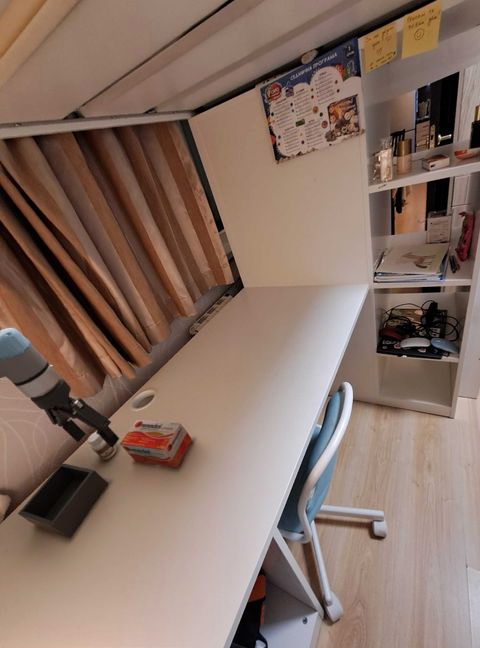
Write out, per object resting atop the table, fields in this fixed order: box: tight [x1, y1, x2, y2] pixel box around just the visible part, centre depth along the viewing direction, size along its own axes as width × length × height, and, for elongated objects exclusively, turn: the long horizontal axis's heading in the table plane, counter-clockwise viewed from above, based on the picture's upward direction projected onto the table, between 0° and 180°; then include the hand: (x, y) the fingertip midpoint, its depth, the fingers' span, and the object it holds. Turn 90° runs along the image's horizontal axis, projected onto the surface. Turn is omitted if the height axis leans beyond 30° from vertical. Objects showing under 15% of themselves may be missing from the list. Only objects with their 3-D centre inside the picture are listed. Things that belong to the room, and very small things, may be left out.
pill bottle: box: [87, 431, 117, 460], centre depth 81 cm, size 4×4×8 cm
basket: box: [17, 462, 110, 539], centre depth 71 cm, size 13×13×6 cm
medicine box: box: [119, 419, 193, 468], centre depth 76 cm, size 15×8×8 cm, turn 73°
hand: (97, 440), depth 80 cm, fingers open, 13 cm apart
